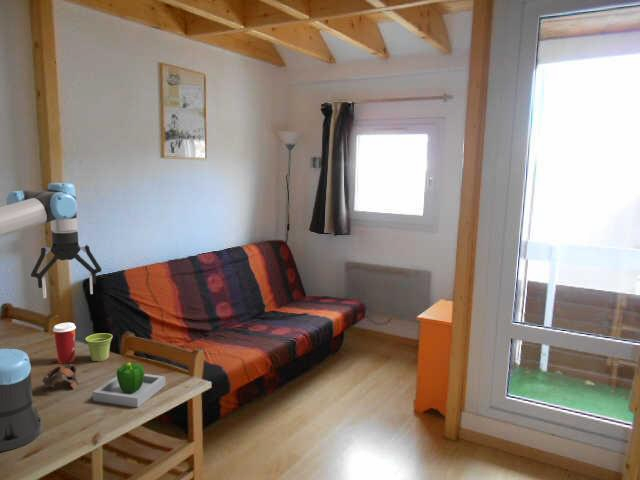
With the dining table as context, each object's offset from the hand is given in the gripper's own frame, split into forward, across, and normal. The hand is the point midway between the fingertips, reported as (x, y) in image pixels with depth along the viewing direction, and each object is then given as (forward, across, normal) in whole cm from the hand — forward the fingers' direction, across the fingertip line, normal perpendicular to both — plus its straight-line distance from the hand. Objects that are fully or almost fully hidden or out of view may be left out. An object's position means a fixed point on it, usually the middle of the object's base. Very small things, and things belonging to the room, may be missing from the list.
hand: (68, 295), depth 155 cm
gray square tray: (+32, -17, +13) cm, 38 cm away
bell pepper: (+31, -17, +13) cm, 37 cm away
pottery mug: (+32, +3, -1) cm, 32 cm away
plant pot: (+32, -9, -21) cm, 39 cm away
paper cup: (+32, +3, -25) cm, 40 cm away
